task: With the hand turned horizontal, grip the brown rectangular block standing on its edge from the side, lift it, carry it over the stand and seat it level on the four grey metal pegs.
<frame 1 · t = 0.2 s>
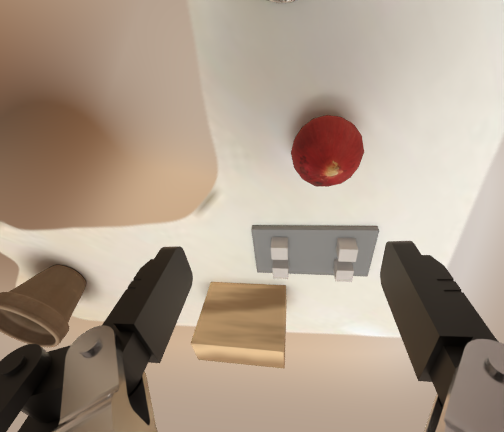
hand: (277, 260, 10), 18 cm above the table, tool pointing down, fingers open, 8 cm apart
flower pot: (69, 275, 45), on the table
peg stand: (311, 249, 33), on the table
brown rectangular block: (249, 292, 41), on the table
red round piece: (321, 136, 24), on the table
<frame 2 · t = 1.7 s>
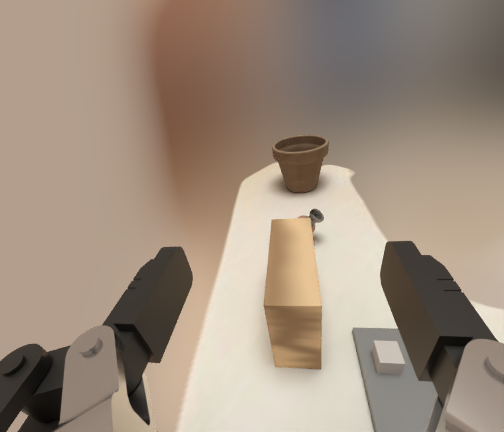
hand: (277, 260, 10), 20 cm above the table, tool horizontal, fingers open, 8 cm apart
flower pot: (301, 186, 57), on the table
peg stand: (423, 420, 20), on the table
vase: (306, 240, 41), on the table
brown rectangular block: (296, 315, 30), on the table
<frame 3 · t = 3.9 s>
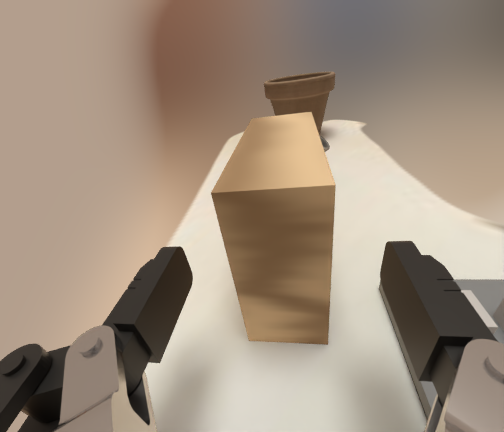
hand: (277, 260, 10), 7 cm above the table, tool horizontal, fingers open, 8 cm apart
flower pot: (300, 138, 46), on the table
brown rectangular block: (288, 267, 19), on the table
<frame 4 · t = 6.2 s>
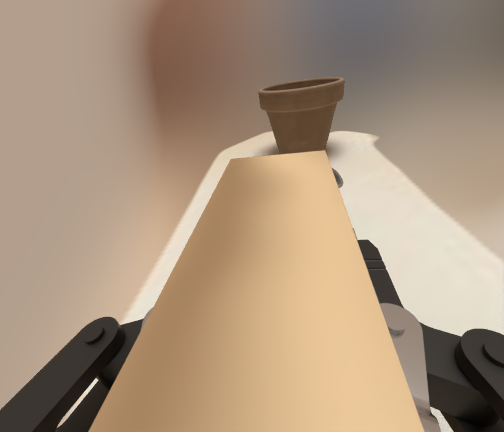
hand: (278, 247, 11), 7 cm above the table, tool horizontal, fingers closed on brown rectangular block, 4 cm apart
flower pot: (302, 155, 39), on the table
brown rectangular block: (288, 391, 12), on the table, touching gripper
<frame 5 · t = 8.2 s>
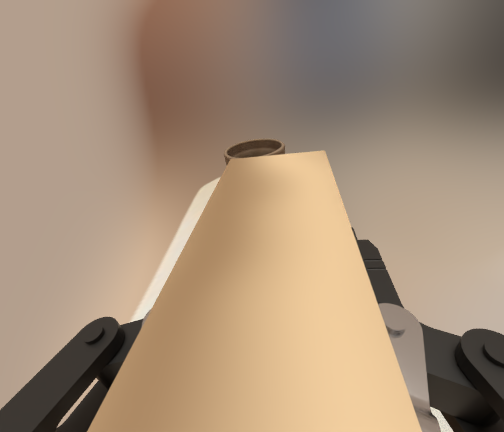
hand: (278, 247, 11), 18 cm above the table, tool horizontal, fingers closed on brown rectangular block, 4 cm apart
flower pot: (260, 194, 52), on the table
brown rectangular block: (288, 391, 12), point 11 cm above the table, touching gripper
when the fingers open (11 cm above the table, at t = 10.6 s): brown rectangular block stays where it is, resting on peg stand.
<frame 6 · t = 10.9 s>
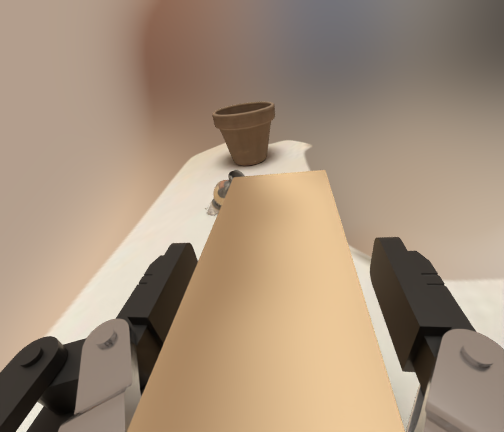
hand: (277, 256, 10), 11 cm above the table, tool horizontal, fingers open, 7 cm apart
flower pot: (250, 160, 51), on the table
vase: (232, 211, 35), on the table
brown rectangular block: (290, 403, 13), point 3 cm above the table, touching peg stand
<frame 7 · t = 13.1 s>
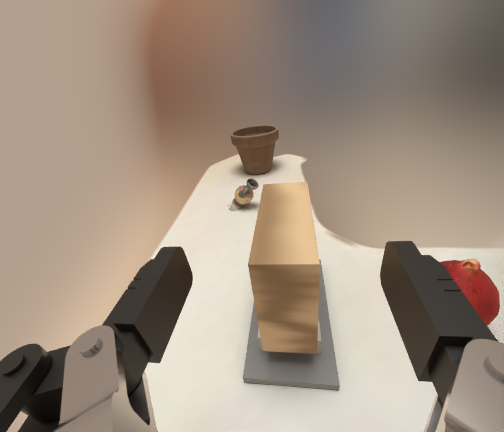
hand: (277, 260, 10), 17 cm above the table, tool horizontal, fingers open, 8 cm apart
flower pot: (258, 170, 65), on the table
peg stand: (289, 311, 28), on the table
vase: (247, 207, 49), on the table
brown rectangular block: (289, 295, 26), point 3 cm above the table, touching peg stand
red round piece: (442, 321, 25), on the table
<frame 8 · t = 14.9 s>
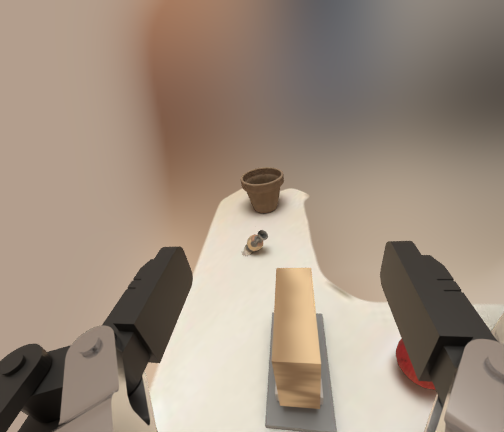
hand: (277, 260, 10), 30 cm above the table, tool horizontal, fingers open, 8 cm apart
flower pot: (265, 207, 71), on the table
peg stand: (298, 363, 35), on the table
vase: (258, 252, 56), on the table
brown rectangular block: (298, 354, 33), point 3 cm above the table, touching peg stand
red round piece: (417, 375, 32), on the table
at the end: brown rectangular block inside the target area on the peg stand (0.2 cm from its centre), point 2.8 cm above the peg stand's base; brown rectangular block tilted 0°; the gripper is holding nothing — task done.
